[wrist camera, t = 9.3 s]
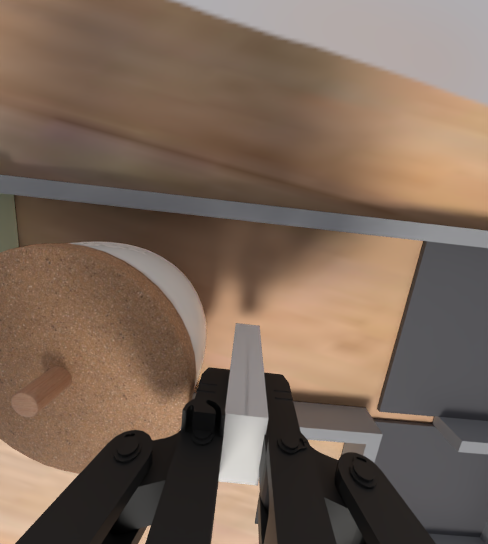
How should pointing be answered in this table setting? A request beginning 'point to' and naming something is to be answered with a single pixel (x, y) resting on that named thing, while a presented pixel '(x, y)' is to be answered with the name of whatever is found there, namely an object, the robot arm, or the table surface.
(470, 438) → the box
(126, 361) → the lidded jar
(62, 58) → the table surface
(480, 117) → the table surface
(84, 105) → the table surface
